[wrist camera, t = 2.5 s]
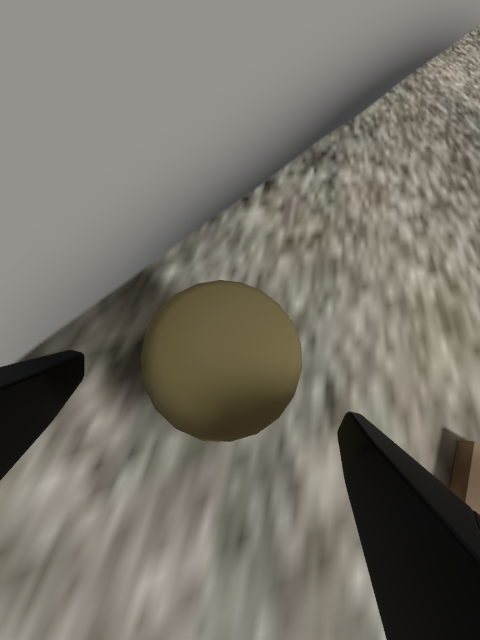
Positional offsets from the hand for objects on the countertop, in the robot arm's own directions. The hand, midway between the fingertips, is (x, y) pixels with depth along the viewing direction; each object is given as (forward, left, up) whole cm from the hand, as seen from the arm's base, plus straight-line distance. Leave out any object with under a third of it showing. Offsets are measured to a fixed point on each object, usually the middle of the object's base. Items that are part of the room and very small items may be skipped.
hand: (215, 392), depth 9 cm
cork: (+1, 0, -9) cm, 9 cm away
